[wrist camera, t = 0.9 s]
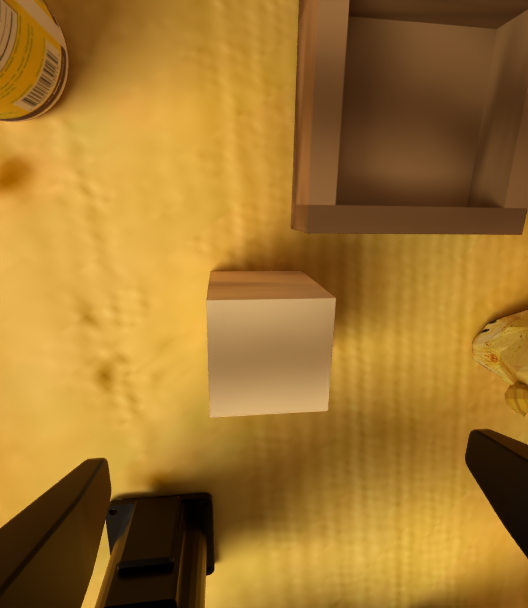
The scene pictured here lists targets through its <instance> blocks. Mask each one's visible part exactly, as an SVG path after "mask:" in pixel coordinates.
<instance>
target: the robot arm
mask: <svg viewBox="0 0 528 608" xmlns="http://www.w3.org/2000/svg"><path fill="white" fill-rule="evenodd" d="M465 461H466V464H467V467H468V468H469V470H470V472H471V473H472V475H473V477H474V478H475V480H476V481H477V483H478V485H479V486H480V488H481V490H482V491H483V493H484V494H485V496H486V498H487V499H488V501H489V503H490V504H491V506H492V507H493V509H494V511H495V512H496V514H497V516H498V517H499V519H500V520H501V522H502V523H503V525H504V526H505V528H506V529H507V531H508V532H509V533H510V535H511V536H512V538H513V539H514V540H515V542H516V543H517V545H518V546H519V547H520V549H521V550H522V551H523V553H524V554H525V555H526V557H527V558H528V445H527V444H524V443H522V442H520V441H517V440H515V439H512V438H510V437H507V436H505V435H502V434H500V433H498V432H495V431H493V430H490V429H475V430H472V431H471V432H470V434H469V438H468V443H467V449H466V454H465ZM110 498H111V482H110V474H109V467H108V462H107V459H105V458H93V459H87V460H85V461H84V462H83V463H81V464H80V465H79V466H78V467H76V468H75V469H74V470H73V471H71V472H70V473H69V474H68V475H66V476H65V477H64V478H63V479H61V480H60V481H59V482H58V483H56V484H55V485H54V486H53V487H51V488H50V489H49V490H48V491H46V492H45V493H44V494H42V495H41V496H40V497H39V498H37V499H36V500H35V501H34V502H32V503H31V504H30V505H29V506H27V507H26V508H25V509H24V510H22V511H21V512H20V513H19V514H17V515H16V516H15V517H14V518H12V519H11V520H10V521H9V522H7V523H6V524H5V525H4V526H2V527H1V528H0V608H81V606H82V603H83V600H84V597H85V594H86V591H87V588H88V585H89V582H90V579H91V576H92V573H93V569H94V565H95V561H96V557H97V553H98V549H99V545H100V540H101V536H102V532H103V528H104V524H105V519H106V526H107V533H108V541H109V548H110V555H111V557H110V560H109V563H108V567H107V570H106V573H105V576H104V579H103V583H102V586H101V589H100V592H99V596H98V599H97V602H96V605H95V608H205V584H206V576H207V575H210V574H212V573H213V572H214V531H213V499H212V496H211V495H210V494H209V493H195V494H183V495H171V496H159V497H147V498H135V499H123V500H113V501H110ZM202 501H207V502H202ZM113 509H116V510H113Z"/></svg>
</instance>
